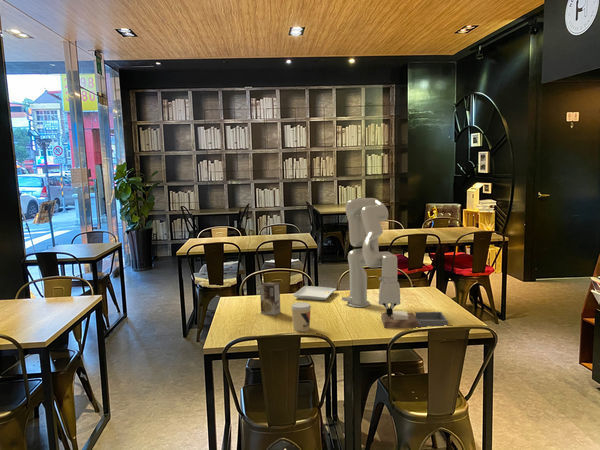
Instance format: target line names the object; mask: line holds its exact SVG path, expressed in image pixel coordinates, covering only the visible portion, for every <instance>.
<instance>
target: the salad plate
mask: <svg viewBox="0 0 600 450" xmlns="http://www.w3.org/2000/svg"><path fill="white" fill-rule="evenodd" d="M336 290H337V289H336V288H333V287H327V286H326V287H325V286H324V287H323V286H312V285H310V286H309V285H304V286H302V287H301V288H299V290H298V291H295V292H294V293H293V294H292V295H293V297H295V298H297V299H301V300H312V301H314V300H315V301H326V300H327V299H328V298H329V297H330V296H331V295H332V294H333V293H335V291H336ZM325 292H329V293H325ZM307 293H308V294H307Z"/></svg>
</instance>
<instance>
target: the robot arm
mask: <svg viewBox="0 0 600 450" xmlns="http://www.w3.org/2000/svg"><path fill="white" fill-rule="evenodd" d="M345 214H346V217H347V221H348V235H349V243H350V245H351V246H352V247H362V248H356V249H355V248H354V249H352V250H350V251H349V252H348V253H347V254H348V255H347V261H348V268H349V295H348V296H347V297H345V296H341V301H343V302H346V303H347V304H346V305H347V306H349V307H352V308H366V307H369V306H370V304H371V303H370V301H369V300H368V275H367V274H368V273H367V271H366V270H365V266H367V267H368V268H371V269H373V268H380V267H381V276H380V277H378V280H379V281H380V284H379V287H378V288H379V289H378V305H381V306H383V307H384V308H385V313H386V315H388V317H389V316H390V317H391V315H393V311H394V310H393V309H394V308H395V307H396V306H400V305H401V287H400V283H399V281H398V257H397V255H396V254H393V253H392V252H390V251H379V237H380V236H382V234H383V232H384V231H383V227H382V224H381V221H382V222H383V221H386V220H388V218H389V211H388V208H387V207H386V205H385V204H384V203H383V202H381V201H380V200H379V199H377V198H374V197H361V198H351V199H350V200H347V202H346V204H345ZM389 304H390V306H389Z"/></svg>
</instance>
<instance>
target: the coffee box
mask: <svg viewBox="0 0 600 450" xmlns="http://www.w3.org/2000/svg"><path fill="white" fill-rule="evenodd" d="M280 287H281V284H280V282H269V281H267V282H262V283H261V284H259V294H260V295H259V297H260V298H259V300H260V313H261V315H268V316H269V315H270V316H277V315H278V314H280V313H281V293H280V292H281V291H280V290H281V289H280Z"/></svg>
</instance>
